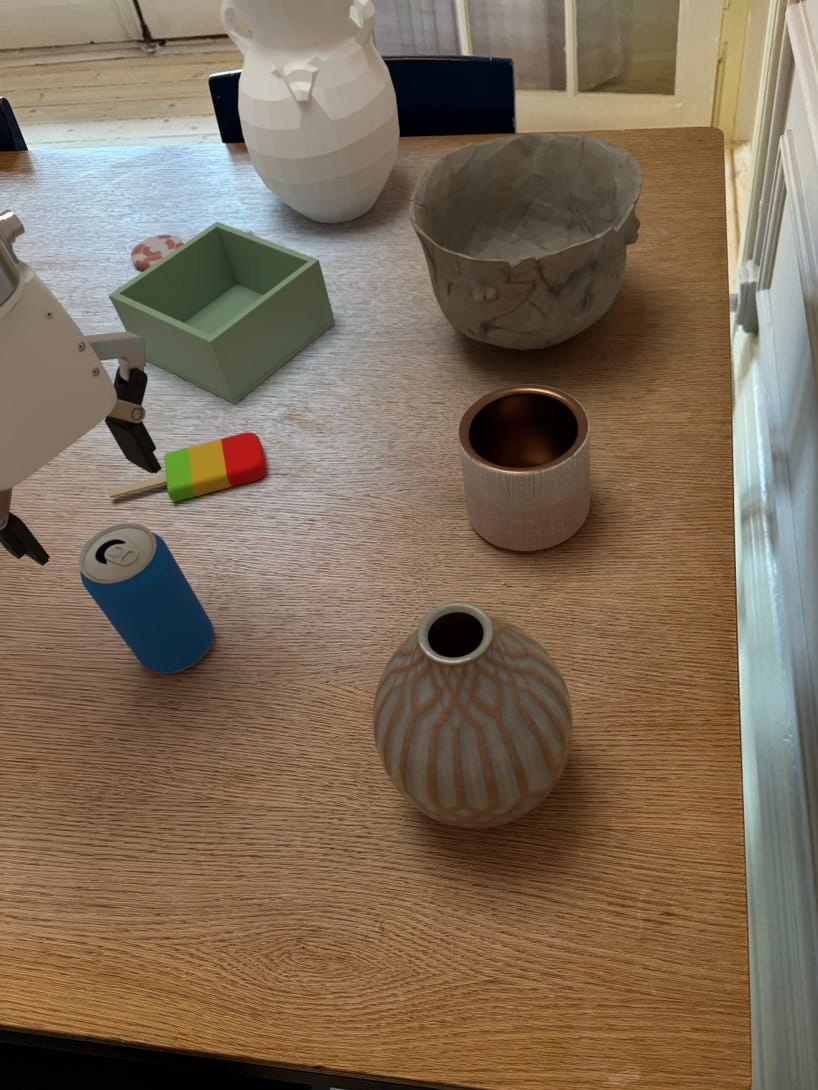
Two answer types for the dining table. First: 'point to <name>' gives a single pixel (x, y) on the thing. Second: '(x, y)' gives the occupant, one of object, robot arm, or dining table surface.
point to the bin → (226, 309)
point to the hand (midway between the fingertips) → (91, 508)
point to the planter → (526, 466)
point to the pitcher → (315, 103)
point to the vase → (472, 719)
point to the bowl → (527, 234)
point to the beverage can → (146, 597)
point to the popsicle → (206, 468)
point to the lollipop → (155, 250)
